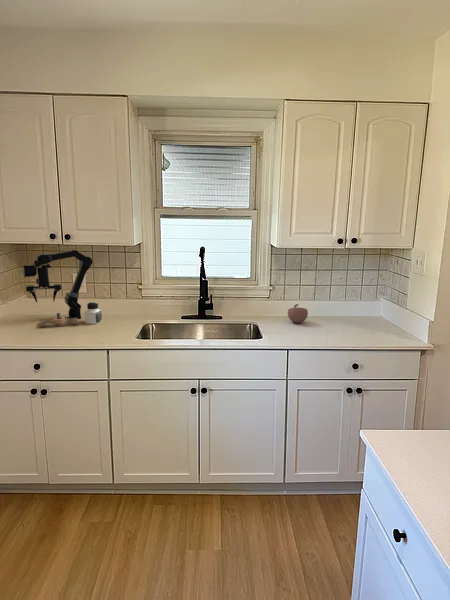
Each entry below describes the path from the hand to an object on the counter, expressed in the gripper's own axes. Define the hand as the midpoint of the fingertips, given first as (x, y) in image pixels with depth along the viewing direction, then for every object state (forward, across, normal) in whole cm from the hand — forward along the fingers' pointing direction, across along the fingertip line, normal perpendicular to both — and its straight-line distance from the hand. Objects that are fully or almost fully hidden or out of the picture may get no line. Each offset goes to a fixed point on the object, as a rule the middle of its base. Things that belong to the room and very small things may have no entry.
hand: (45, 301), depth 241 cm
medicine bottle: (+12, -26, +10) cm, 30 cm away
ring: (+10, -7, +8) cm, 15 cm away
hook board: (+12, -7, +8) cm, 16 cm away
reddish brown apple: (+12, -142, +48) cm, 150 cm away
